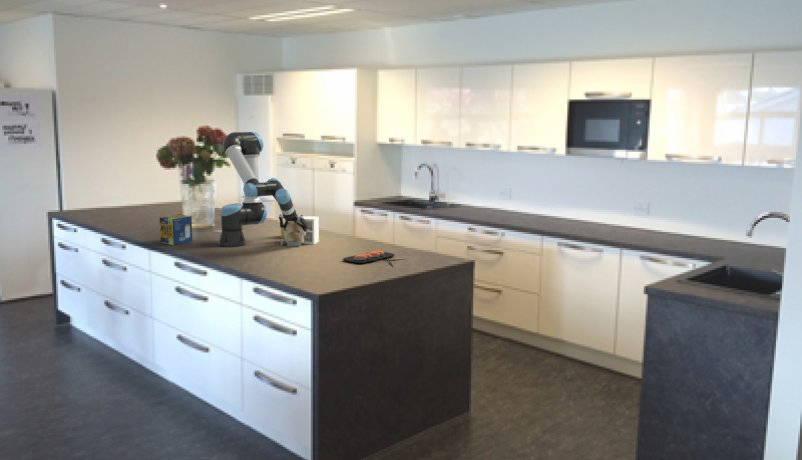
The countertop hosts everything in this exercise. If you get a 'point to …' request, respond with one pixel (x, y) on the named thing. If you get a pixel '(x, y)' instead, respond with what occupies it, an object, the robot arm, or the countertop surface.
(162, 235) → the protein box
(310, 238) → the cabinet
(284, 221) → the cheese
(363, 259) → the sushi plate
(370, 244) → the countertop surface
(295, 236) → the door
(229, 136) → the robot arm
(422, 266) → the countertop surface
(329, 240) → the countertop surface
